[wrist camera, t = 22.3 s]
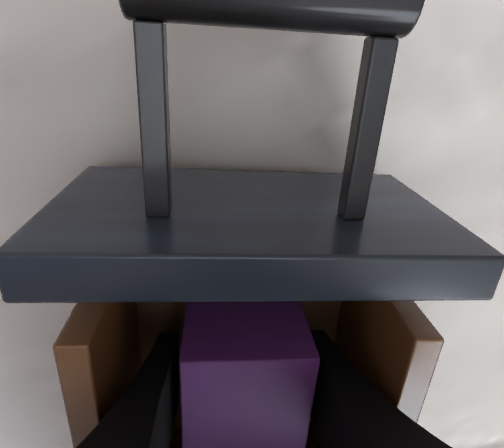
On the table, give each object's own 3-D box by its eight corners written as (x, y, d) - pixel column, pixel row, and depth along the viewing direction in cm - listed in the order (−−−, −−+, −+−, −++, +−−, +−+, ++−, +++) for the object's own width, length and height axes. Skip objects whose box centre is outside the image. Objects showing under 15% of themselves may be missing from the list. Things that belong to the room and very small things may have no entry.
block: (189, 364, 16) (181, 458, 12) (188, 282, 14) (179, 362, 10) (284, 361, 16) (305, 452, 12) (294, 281, 14) (321, 358, 11)
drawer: (63, -32, 11) (-111, -126, 5) (429, -3, 12) (627, -53, 6) (119, 419, 18) (75, 588, 12) (340, 411, 19) (393, 563, 14)
